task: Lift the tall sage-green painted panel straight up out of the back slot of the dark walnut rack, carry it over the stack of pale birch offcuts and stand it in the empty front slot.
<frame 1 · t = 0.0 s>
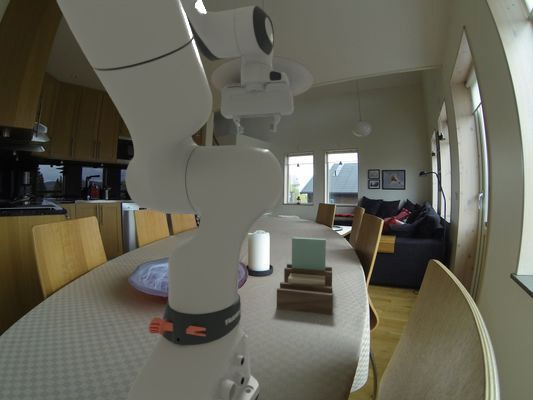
hand: (256, 132, 71), 48 cm above the table, tool pointing down, fingers open, 8 cm apart
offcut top: (306, 284, 73), point 5 cm above the table, touching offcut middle
rack: (306, 303, 73), on the table
panel: (308, 290, 78), point 1 cm above the table, touching rack
beer glass: (228, 287, 84), on the table
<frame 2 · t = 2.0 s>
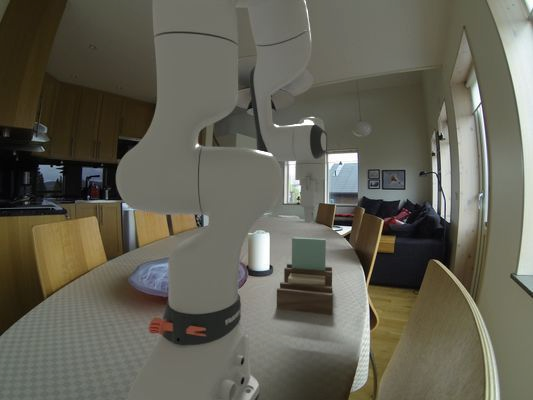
hand: (309, 220, 78), 23 cm above the table, tool pointing down, fingers open, 8 cm apart
nothing on the table moved.
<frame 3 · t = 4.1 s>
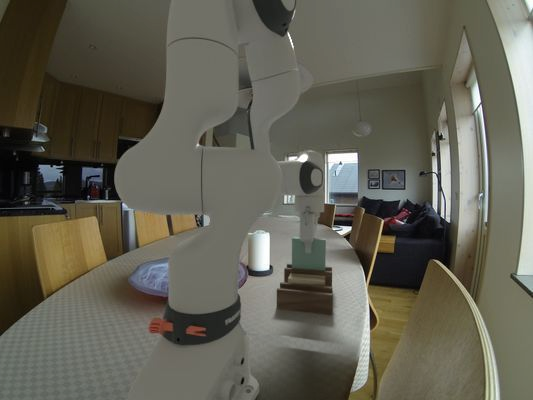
hand: (308, 251, 78), 14 cm above the table, tool pointing down, fingers closed on panel, 2 cm apart
panel: (308, 290, 78), point 2 cm above the table, touching gripper, rack
everything else where it was.
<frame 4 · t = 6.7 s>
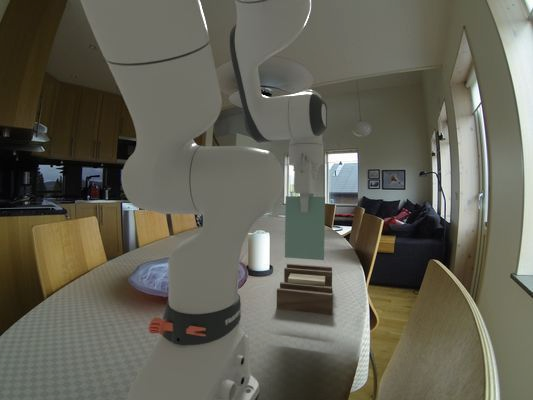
hand: (305, 211, 66), 27 cm above the table, tool pointing down, fingers closed on panel
panel: (304, 257, 67), point 15 cm above the table, touching gripper
everything else where it was.
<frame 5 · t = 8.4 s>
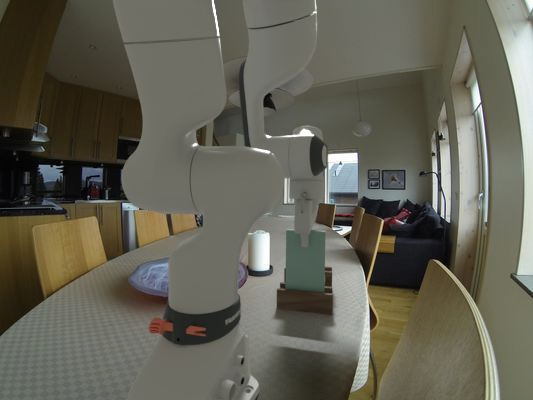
hand: (305, 245, 67), 18 cm above the table, tool pointing down, fingers closed on panel
panel: (304, 290, 67), point 6 cm above the table, touching gripper
everything else where it was.
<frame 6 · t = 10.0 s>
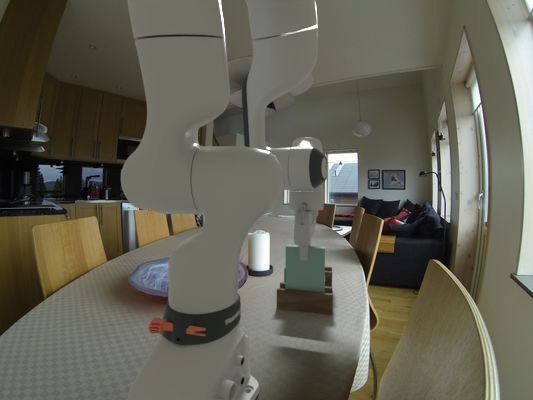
hand: (305, 255, 67), 15 cm above the table, tool pointing down, fingers open, 6 cm apart
panel: (304, 307, 67), point 2 cm above the table, touching rack
everything else where it was.
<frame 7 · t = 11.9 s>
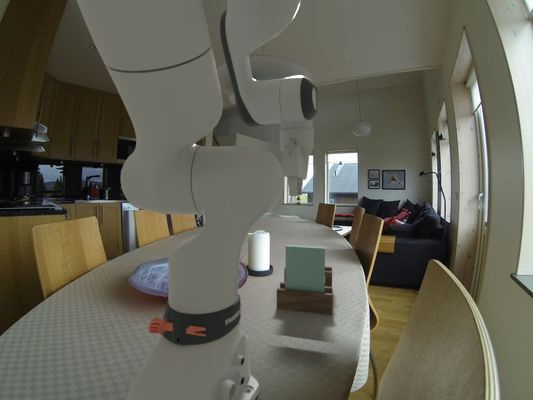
hand: (295, 195, 68), 31 cm above the table, tool pointing down, fingers open, 8 cm apart
nothing on the table moved.
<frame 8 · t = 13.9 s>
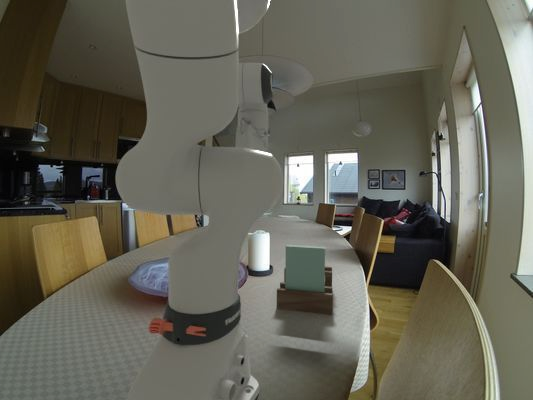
hand: (252, 172, 75), 37 cm above the table, tool pointing down, fingers open, 8 cm apart
nothing on the table moved.
at the end: panel 0.0 cm from the target spot on the rack, point 1.5 cm above the rack's base; panel tilted 0°; the gripper is holding nothing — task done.
